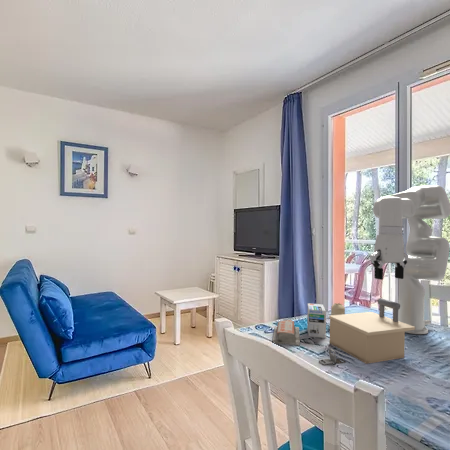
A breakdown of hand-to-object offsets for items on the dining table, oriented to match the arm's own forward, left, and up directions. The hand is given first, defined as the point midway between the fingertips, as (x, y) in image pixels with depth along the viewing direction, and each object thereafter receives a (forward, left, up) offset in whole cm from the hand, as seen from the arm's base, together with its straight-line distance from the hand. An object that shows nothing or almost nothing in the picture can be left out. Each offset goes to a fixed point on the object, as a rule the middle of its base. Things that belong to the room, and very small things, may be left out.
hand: (389, 278), depth 115 cm
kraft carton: (+10, 0, -25) cm, 27 cm away
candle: (+2, -24, -25) cm, 35 cm away
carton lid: (+8, 0, -16) cm, 18 cm away
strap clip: (+28, +4, -25) cm, 38 cm away
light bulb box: (+16, -20, -25) cm, 36 cm away
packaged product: (+30, -21, -26) cm, 44 cm away
